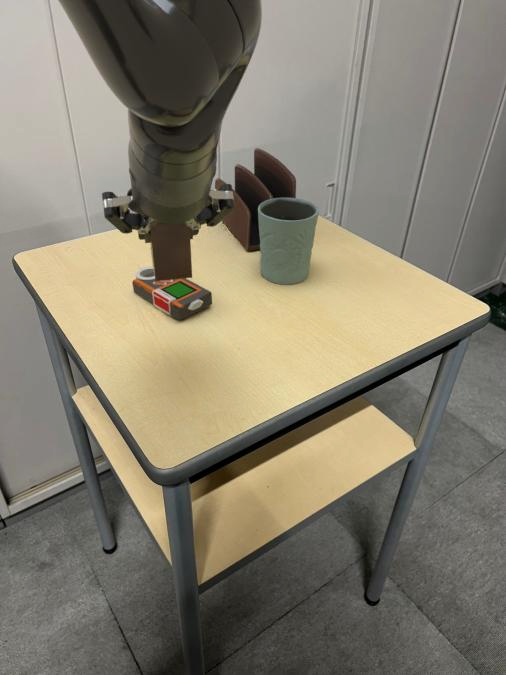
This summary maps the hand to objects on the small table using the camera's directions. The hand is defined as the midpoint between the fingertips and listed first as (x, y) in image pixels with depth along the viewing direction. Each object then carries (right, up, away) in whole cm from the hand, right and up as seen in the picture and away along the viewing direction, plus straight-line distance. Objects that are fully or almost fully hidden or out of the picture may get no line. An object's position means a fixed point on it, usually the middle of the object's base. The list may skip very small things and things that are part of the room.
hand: (167, 233), depth 63 cm
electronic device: (-3, -6, +22) cm, 23 cm away
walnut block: (0, -4, +1) cm, 5 cm away
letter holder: (+10, +10, +44) cm, 46 cm away
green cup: (+16, -1, +30) cm, 34 cm away
